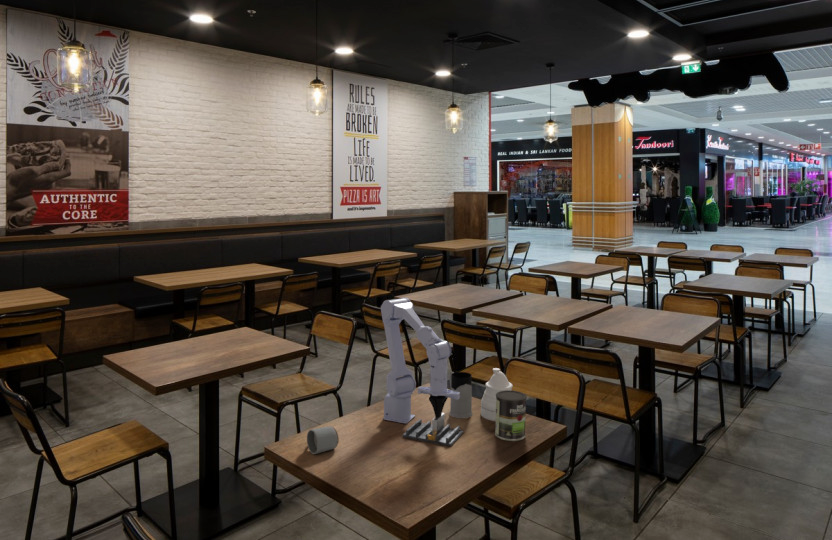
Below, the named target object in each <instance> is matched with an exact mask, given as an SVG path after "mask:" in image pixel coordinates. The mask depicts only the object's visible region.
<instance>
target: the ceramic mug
mask: <svg viewBox="0 0 832 540" xmlns="http://www.w3.org/2000/svg"><path fill="white" fill-rule="evenodd" d="M339 441H340V440H339V433H338V431H337V429H336V428H335V427H333V426H324V427H323V426H322V427H318V428H311V429H309V430H308V431H307V434H306V443H307V447H308V450H309V452H310V453H311V454H312V455H318V454H321V453H324V452H327V451H328V452H329V451H331V450H334V449H335V448H337V447H338V444H339Z"/></svg>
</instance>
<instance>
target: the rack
mask: <svg viewBox="0 0 832 540" xmlns="http://www.w3.org/2000/svg"><path fill="white" fill-rule="evenodd" d="M463 434H464V430H463V429H461V427H460V425H457V426H456V427H455V428H453V427H451V423H447V424H446V425H444V428H443V429H442V430H441V431H440V432H439V433H438V434H437V435H436V437H435V436H433V435H432V420H427V422H423V420H422V418H419V419H418V420H416V421H415V422H414V423H413V424H411V425H410V426H409V427H408V428H407V429H406V430H405V432H404V433H403V434H402V438H405V439H410V440H413V441H419V442H425V443H429V444H434V445H440V446H445V447H452V446H453V444H455V442H456V441H457V440H458V439H459V438H460V437H461V436H462V435H463Z"/></svg>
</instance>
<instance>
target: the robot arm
mask: <svg viewBox="0 0 832 540" xmlns="http://www.w3.org/2000/svg"><path fill="white" fill-rule="evenodd" d="M380 313H381V318H382V324H383V327H384V333H385V338H386V343H387V344H386V345H387V351H388V357H389V363H390V368H391V370H390V371H389V372H388V374H387V375H386V376H385V378H386V385H385V389H386V391H387V394H385V396H384V399H383V417H382V419H383V420H384V421H389V422H396V423H401V424H405V425H406V424H408V423H409V422H410V421H411V420H413V419H414V418H415V417H416V415H415V414H412V405H411V404H412V395H413V394H414V392H415V390H416V386H417V382H416V379H415V378H414V375H413V371H412V370H411V369H410V368H408V367H407V364H406V358H405V354H404V347H403V342H402V335H401V330H400V324H401V322H402V321H403V320H404V321H405V322H407V324H408V325H409V326H410V327H411V328H412V329H413V330H414V331H415V333H416V338H417V339H418V341H419V342H420V343H421V345H422V346H423V347H424V348H425V350H426V356H427V358H428V364H429V366H430V367H429V369H430V370H429V376H430V377H429V380H430V381H429V382H430V383H429V385H430V386H418V387H417V394H418V395H420V394H423V395H429V397H428V401H429V402H430V404H431V406H432V409H433V411H434V418H435V417H438V418H439V417H441V414H442V413H443V409H444V407H445V404H446V402H447V400H448V398H449V399H451V398H454V399H456V400H458V399H459V398H460V392H455V391H452V390H451V389H449V388H448V358H450V356H452V346H451V345H450V343H449V342H448V341H447V340H443V339H442V338H440V337H439V336H438V335H437V334H436V332H435V331H434V330H433V328H432V327H431V326H428V325H425V324H424V323H423V322H422V320H421V319H420V318H419V315H418V314H417V313H416V312H415V310H414V303H413V302H412V301H411V299H410V298H408V297H402V298H395V299H386V300H384V301H383V302H382V304H381V305H380Z"/></svg>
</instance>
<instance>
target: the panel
mask: <svg viewBox="0 0 832 540" xmlns="http://www.w3.org/2000/svg"><path fill="white" fill-rule="evenodd" d="M445 414H446V413H445V412H442V414H441V417H439V418H438V417H435V416H434V417H433V418H432V420H431V425H432V435H433V436H435V437H436V435H437V434H438V433H439V432H440V431H441V430H442V429H443V428H444V427H445V419H446V417H445Z"/></svg>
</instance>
